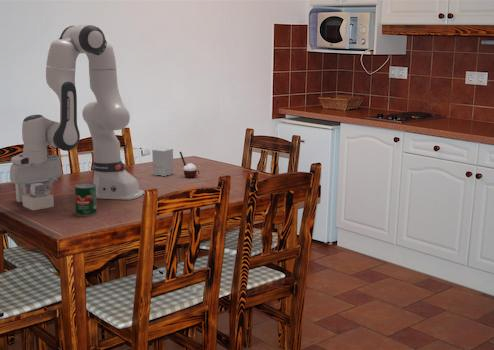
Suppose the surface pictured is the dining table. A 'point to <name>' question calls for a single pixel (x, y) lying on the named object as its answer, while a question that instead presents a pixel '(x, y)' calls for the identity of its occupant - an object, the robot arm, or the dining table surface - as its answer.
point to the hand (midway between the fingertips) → (37, 191)
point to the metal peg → (37, 190)
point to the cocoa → (189, 168)
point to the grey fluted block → (162, 161)
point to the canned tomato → (85, 199)
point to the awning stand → (38, 201)
